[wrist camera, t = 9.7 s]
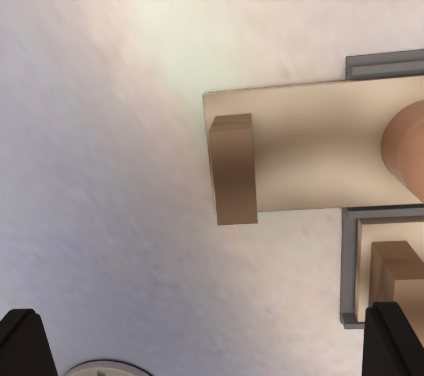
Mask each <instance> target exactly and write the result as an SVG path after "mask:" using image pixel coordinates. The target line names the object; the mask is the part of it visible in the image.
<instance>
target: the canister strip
mask: <svg viewBox="0 0 424 376" xmlns="http://www.w3.org/2000/svg"><path fill="white" fill-rule="evenodd" d="M421 100H424V74H413V75H402V76H390V77H379V78H368V79H357V80H346V81H334V82H323V83H312V84H301V85H290V86H278V87H267V88H256V89H245V90H234V91H223V92H211V93H204V94H203V104H204V114H205V123H206V133H207V143H208V152H209V162H210V171H211V181H212V190H213V200H214V210H215V214H217V221H218V225H233V224H253V223H258V220H257V212H265V211H284V210H304V209H323V208H343V207H362V206H381V205H401V204H420V203H422V202H421V201H420V200H419V199H418V198H417V197H416V196H415V195H414V194H412V193H411V192H410V191H409V190H408V189H407V188H406V187H405V186H404V185H403V184H402V183H401V182H400V181H399V180H398V179H396V178H395V177H394V176H393V175H392V174H391V173H390V172H389V171H388V169H387V168H386V166H385V164H384V162H383V160H382V156H381V141H382V137H383V134H384V131H385V129H386V127H387V126H388V124H389V122H390V121H391V120H392V119H393V117H394V116H395V115H396V114H397V113H399V112H400V111H401V110H402V109H404V108H405V107H407V106H409V105H411V104H412V103H415V102H417V101H421Z"/></svg>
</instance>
